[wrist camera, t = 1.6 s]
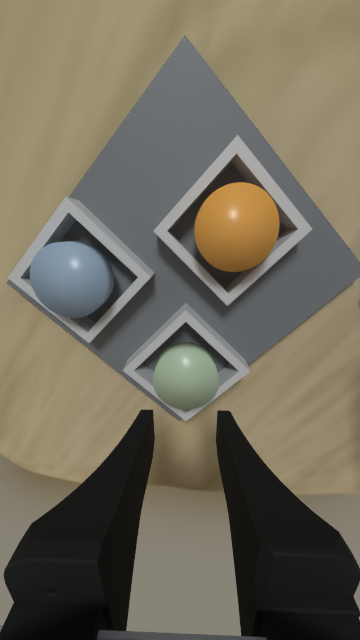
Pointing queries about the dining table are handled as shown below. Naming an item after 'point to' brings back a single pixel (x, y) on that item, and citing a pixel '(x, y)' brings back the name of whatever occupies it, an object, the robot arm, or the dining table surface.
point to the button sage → (186, 376)
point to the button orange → (236, 227)
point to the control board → (189, 235)
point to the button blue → (71, 278)
